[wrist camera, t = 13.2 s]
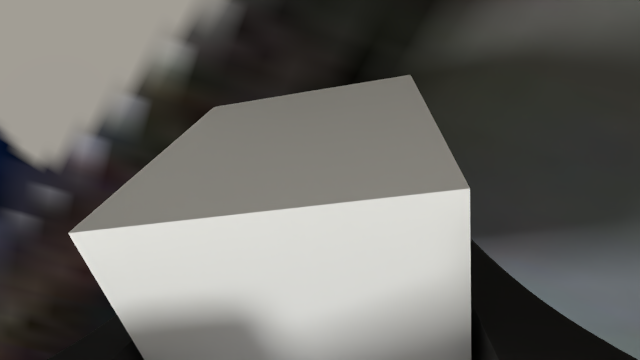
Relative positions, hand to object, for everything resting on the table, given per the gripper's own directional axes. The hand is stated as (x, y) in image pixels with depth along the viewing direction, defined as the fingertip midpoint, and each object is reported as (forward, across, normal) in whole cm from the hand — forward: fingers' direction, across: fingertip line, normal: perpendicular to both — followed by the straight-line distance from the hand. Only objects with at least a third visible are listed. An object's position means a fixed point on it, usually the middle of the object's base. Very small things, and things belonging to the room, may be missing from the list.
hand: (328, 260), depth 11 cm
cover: (+2, 0, 0) cm, 2 cm away
